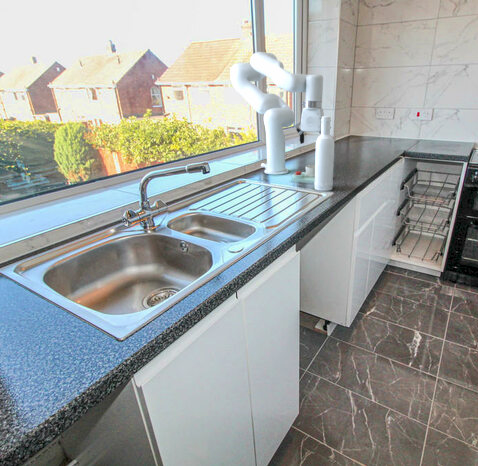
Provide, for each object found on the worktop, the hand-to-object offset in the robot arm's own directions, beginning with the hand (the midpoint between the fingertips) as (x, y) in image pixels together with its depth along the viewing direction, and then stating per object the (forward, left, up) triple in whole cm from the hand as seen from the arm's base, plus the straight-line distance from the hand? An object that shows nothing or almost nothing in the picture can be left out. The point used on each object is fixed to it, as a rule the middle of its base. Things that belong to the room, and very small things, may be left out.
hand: (311, 144), depth 154 cm
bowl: (+1, -1, -15) cm, 15 cm away
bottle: (+11, -15, -17) cm, 25 cm away
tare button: (-4, -6, -14) cm, 16 cm away
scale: (+2, -2, -16) cm, 17 cm away
